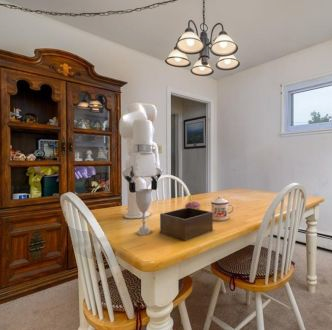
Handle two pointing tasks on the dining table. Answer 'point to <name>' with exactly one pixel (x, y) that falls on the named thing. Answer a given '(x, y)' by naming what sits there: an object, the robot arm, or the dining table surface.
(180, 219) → the crate
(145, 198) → the chalice
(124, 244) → the dining table surface
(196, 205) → the red onion
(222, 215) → the teacup with lid
